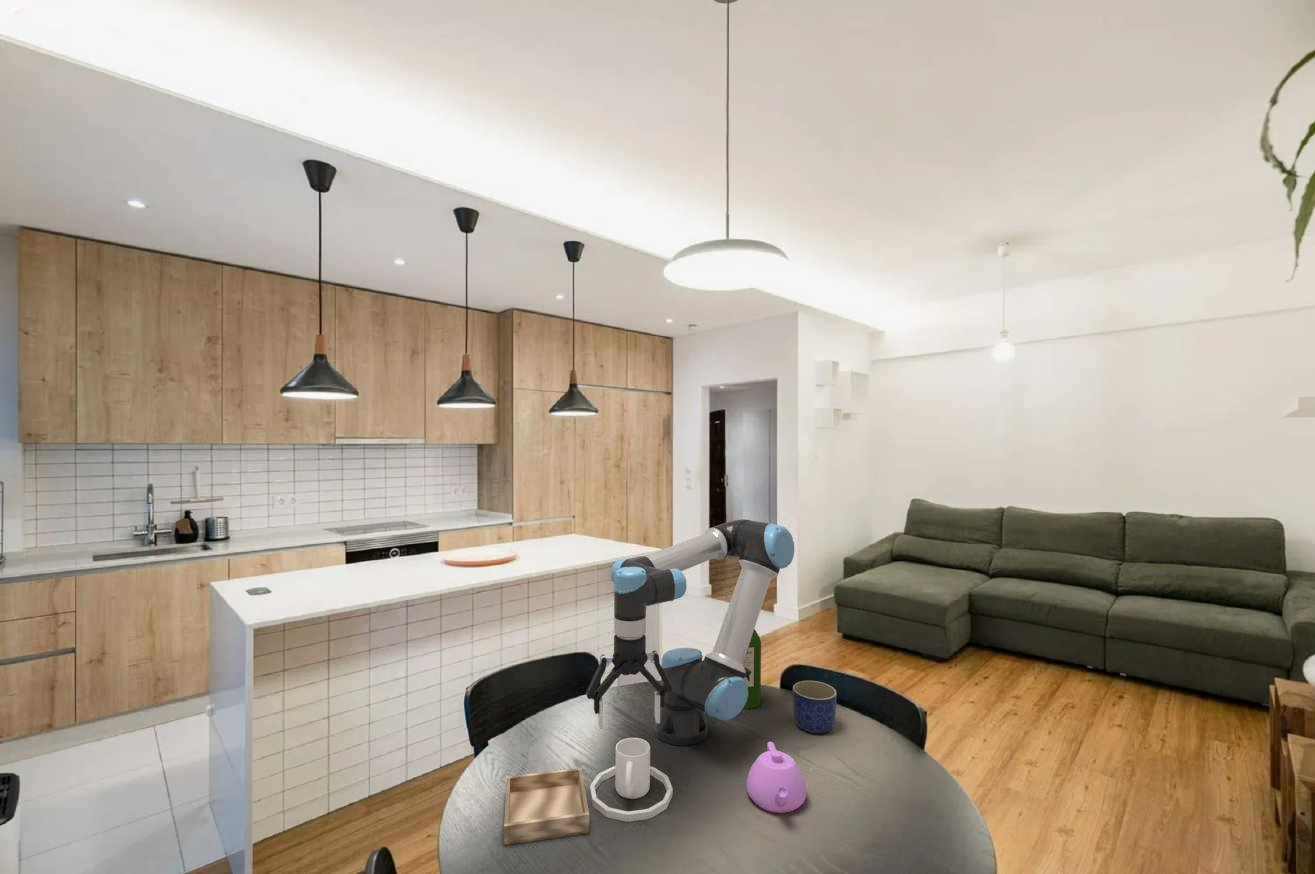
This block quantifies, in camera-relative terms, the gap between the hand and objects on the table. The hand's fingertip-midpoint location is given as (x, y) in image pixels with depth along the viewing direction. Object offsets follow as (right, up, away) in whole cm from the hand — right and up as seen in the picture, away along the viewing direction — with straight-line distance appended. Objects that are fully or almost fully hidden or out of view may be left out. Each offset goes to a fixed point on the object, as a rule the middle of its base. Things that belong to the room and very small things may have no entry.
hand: (629, 723), depth 138 cm
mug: (0, -17, 0) cm, 17 cm away
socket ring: (0, -17, 0) cm, 17 cm away
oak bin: (-18, -17, -7) cm, 26 cm away
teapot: (+35, -17, -1) cm, 39 cm away
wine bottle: (+35, -17, +47) cm, 61 cm away
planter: (+53, -17, +32) cm, 64 cm away
